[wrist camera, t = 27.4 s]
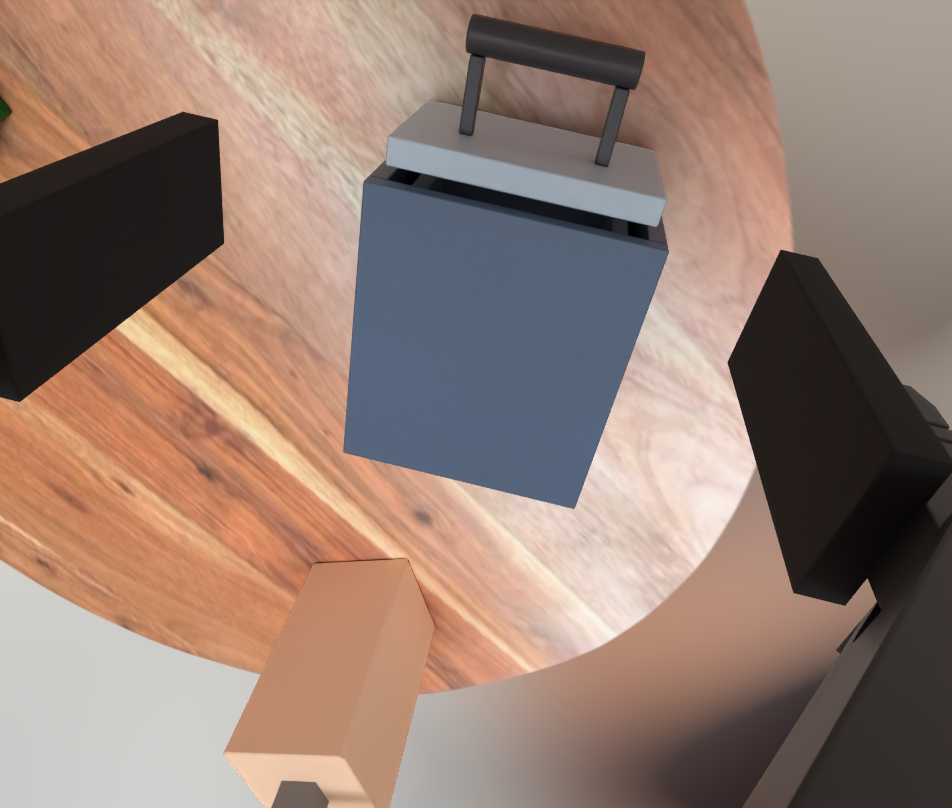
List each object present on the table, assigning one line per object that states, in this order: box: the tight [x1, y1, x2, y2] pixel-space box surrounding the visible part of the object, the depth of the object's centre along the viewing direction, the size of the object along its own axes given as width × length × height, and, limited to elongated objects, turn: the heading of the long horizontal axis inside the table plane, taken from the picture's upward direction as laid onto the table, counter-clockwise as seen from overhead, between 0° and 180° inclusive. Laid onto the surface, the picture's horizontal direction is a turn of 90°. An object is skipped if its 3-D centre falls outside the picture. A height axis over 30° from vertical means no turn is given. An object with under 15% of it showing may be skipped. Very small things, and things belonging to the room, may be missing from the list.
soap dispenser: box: [223, 559, 435, 808], centre depth 47 cm, size 13×9×22 cm
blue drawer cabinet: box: [343, 160, 669, 509], centre depth 35 cm, size 15×13×10 cm
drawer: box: [386, 14, 667, 236], centre depth 32 cm, size 18×11×8 cm, turn 170°
